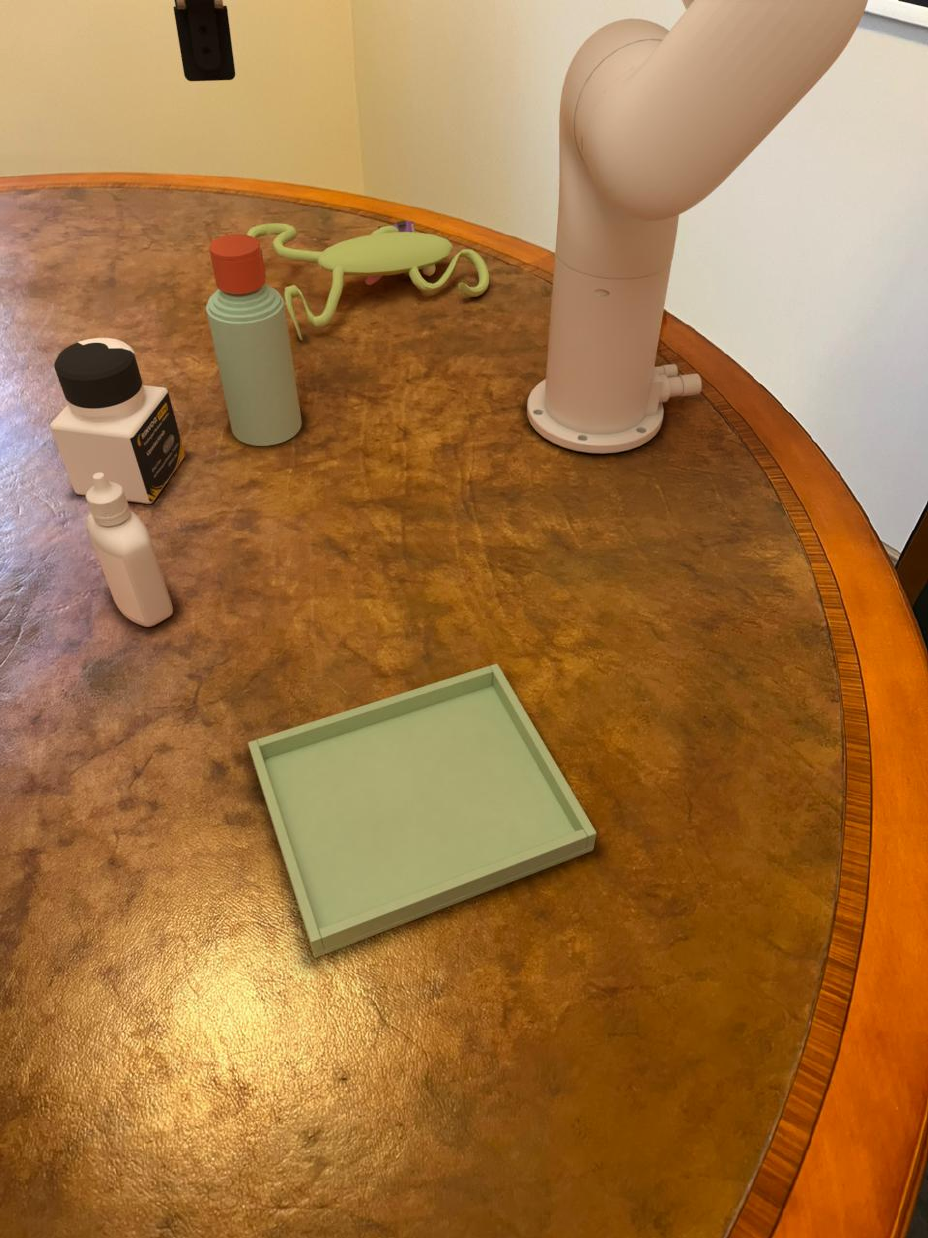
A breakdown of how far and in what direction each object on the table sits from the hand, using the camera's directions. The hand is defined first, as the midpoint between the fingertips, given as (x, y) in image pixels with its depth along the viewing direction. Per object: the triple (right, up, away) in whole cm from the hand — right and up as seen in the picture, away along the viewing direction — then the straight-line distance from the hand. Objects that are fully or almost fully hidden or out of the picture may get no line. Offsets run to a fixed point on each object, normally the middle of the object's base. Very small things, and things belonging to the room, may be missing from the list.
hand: (206, 56), depth 63 cm
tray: (+15, -50, -6) cm, 52 cm away
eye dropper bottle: (-7, -37, +6) cm, 38 cm away
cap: (-1, -11, +13) cm, 17 cm away
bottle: (-1, -20, +22) cm, 30 cm away
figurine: (+6, -1, +41) cm, 42 cm away
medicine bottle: (-11, -26, +17) cm, 33 cm away
